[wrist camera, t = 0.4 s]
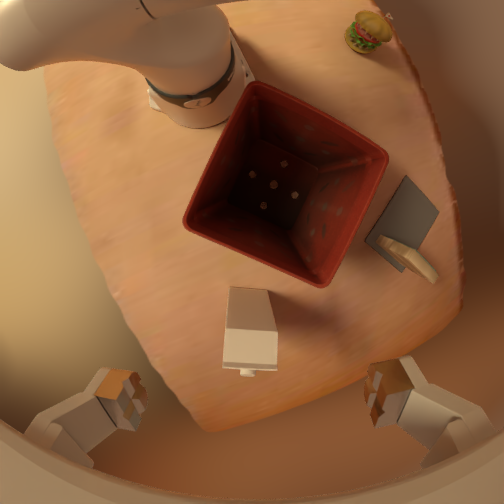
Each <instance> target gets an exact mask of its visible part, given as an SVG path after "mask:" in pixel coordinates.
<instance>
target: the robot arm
mask: <svg viewBox="0 0 504 504" xmlns="http://www.w3.org/2000/svg"><path fill="white" fill-rule="evenodd" d="M238 1H248V0H0V63H1V64H3V65H4V66H6V67H8V68H11V69H13V70H18V71H28V70H32V69H35V68H38V67H42V66H45V65H50V64H54V63H60V62H68V61H95V62H104V63H111V64H117V65H122V66H127V67H130V68H133V69H135V70H137V71H138V72H139V73H141V74H142V75H143V76H144V77H145V79H146V81H147V83H148V85H149V89H148V90H147V92H148V94H149V105H150V107H151V108H152V109H154V110H156V111H160V112H163V113H165V114H167V115H168V116H169V117H170V118H171V119H172V120H173V121H175V122H176V123H178V124H180V125H182V126H185V127H189V128H206V127H211V126H214V125H216V124H219V123H221V122H222V121H224V120H226V119H227V118H228V117H229V116H231V114H232V112H233V110H234V108H235V106H236V104H237V102H238V100H239V99H240V97H241V95H242V93H243V91H244V89H245V87H246V86H247V84H248V83H250V82H252V81H255V78H254V75H253V73H252V71H251V69H250V67H249V65H248V63H247V61H246V59H245V58H244V56H243V54H242V52H241V50H240V48H239V46H238V44H237V42H236V40H235V38H234V37H233V35H232V33H231V31H230V27H229V22H228V19H227V17H226V15H225V14H224V13H223V11H222V10H221V9H220V8H219V7H218V6H216V5H217V4H223V3H230V2H238ZM246 75H248V77H246ZM367 372H368V375H369V378H368V379H367V380H366V381H365V385H364V397H365V401H366V404H367V406H369V407H370V408H372V409H371V413H370V416H371V419H372V422H373V425H374V428H379V427H383V426H387V425H392V424H396V423H397V425H398V426H399V427H401V428H402V429H403V430H404V431H406V432H407V433H408V434H409V435H411V436H412V437H413V438H415V439H416V440H417V441H418V442H420V443H421V444H422V445H423V446H425V447H426V448H427V449H429V450H430V451H429V452H428V453H427V455H426V456H425V457H424V459H423V460H422V461H421V463H420V465H421V467H422V469H421V470H419V471H416V472H413V473H411V474H408V475H405V476H402V477H399V478H396V479H392V480H389V481H386V482H382V483H379V484H375V485H371V486H367V487H363V488H358V489H354V490H349V491H344V492H339V493H333V494H326V495H319V496H311V497H300V498H287V499H229V498H216V497H206V496H198V495H191V494H184V493H178V492H173V491H168V490H163V489H158V488H153V487H149V486H145V485H141V484H137V483H134V482H130V481H127V480H124V479H120V478H117V477H114V476H111V475H108V474H105V473H103V472H100V471H97V470H94V469H92V467H93V465H94V463H93V461H92V460H91V458H89V456H88V455H87V454H86V453H87V452H89V451H90V450H91V449H92V448H94V447H95V446H96V445H97V444H99V443H100V442H101V441H103V440H104V439H105V438H106V437H107V436H109V435H110V434H111V433H113V432H114V431H115V430H116V429H117V428H121V429H126V430H131V431H136V430H137V428H138V425H139V423H140V421H141V417H140V413H142V412H143V411H145V409H146V407H147V404H148V395H147V392H146V389H145V387H143V386H142V385H141V384H140V380H141V378H140V376H139V375H138V373H136V372H133V371H127V370H120V369H114V368H107V367H102V368H100V369H99V370H98V372H97V373H96V375H95V376H94V378H93V379H92V380H91V382H90V383H89V385H88V386H87V388H86V389H85V390H84V392H83V393H78V394H76V395H74V396H72V397H70V398H68V399H66V400H64V401H62V402H61V403H59V404H57V405H55V406H53V407H51V408H49V409H47V410H45V411H43V412H41V413H39V414H37V416H36V417H35V418H34V420H33V421H32V423H31V424H30V426H29V427H28V429H27V430H26V431H25V433H24V434H22V433H20V432H18V431H17V430H15V429H14V428H12V427H11V426H9V425H8V424H6V423H5V422H3V421H2V420H1V419H0V504H504V427H503V428H501V429H500V430H498V431H497V432H496V431H495V429H494V427H493V425H492V424H491V422H490V421H489V419H488V417H487V416H486V414H485V412H484V411H483V409H482V408H481V407H480V406H478V405H476V404H473V403H471V402H469V401H467V400H465V399H463V398H461V397H459V396H457V395H454V394H452V393H451V392H449V391H446V390H444V389H442V388H440V387H438V386H436V385H434V384H428V382H427V381H426V379H425V377H424V376H423V374H422V373H421V371H420V369H419V368H418V366H417V365H416V363H415V361H414V360H413V358H412V357H411V356H410V355H407V356H403V357H399V358H396V359H390V360H386V361H381V362H376V363H371V364H370V365H369V367H368V371H367Z"/></svg>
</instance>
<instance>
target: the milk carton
mask: <svg viewBox="0 0 504 504" xmlns="http://www.w3.org/2000/svg"><path fill="white" fill-rule="evenodd" d="M277 349H278V331H277V327H276V323H275V319H274V315H273V311H272V307H271V303H270V299H269V295H268V291H267V290H261V289H249V288H237V287H229V290H228V302H227V313H226V325H225V338H224V352H223V366H222V368H227V369H240V370H241V371H240V375H241V376H255V375H256V370H260V371H277V370H278V368H277Z"/></svg>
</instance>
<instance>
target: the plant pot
mask: <svg viewBox="0 0 504 504" xmlns="http://www.w3.org/2000/svg"><path fill="white" fill-rule="evenodd" d="M282 160H286V161H287V162H288V166H287V167H286V168H282V167H281V166H280V162H281V161H282ZM388 162H389V156H388V153H387V152H386V151H385V150H384V149H383V148H381V147H380V146H379V145H377V144H376V143H374V142H373V141H371V140H370V139H368V138H367V137H365V136H364V135H362V134H360V133H359V132H357V131H356V130H354V129H352V128H351V127H349V126H347V125H346V124H344V123H342V122H341V121H339V120H337V119H335V118H334V117H332V116H330V115H328V114H327V113H325V112H323V111H321V110H319V109H317V108H315V107H314V106H312V105H310V104H308V103H306V102H304V101H302V100H300V99H298V98H296V97H294V96H292V95H290V94H288V93H286V92H284V91H281V90H279V89H277V88H275V87H273V86H270V85H268V84H266V83H263V82H261V81H252V82H250V83H248V84H247V86H246V87H245V89H244V91H243V93H242V95H241V97H240V99H239V100H238V102H237V104H236V106H235V108H234V110H233V112H232V114H231V116H230V118H229V120H228V122H227V124H226V125H225V127H224V129H223V131H222V133H221V135H220V138H219V140H218V142H217V144H216V146H215V148H214V150H213V152H212V154H211V156H210V158H209V161H208V163H207V165H206V167H205V169H204V171H203V173H202V176H201V178H200V180H199V182H198V184H197V186H196V189H195V191H194V193H193V195H192V197H191V200H190V202H189V204H188V206H187V209H186V211H185V214H184V216H183V219H182V223H183V226H184V228H185V229H186V230H188V231H190V232H192V233H194V234H196V235H198V236H201V237H203V238H206V239H208V240H210V241H213V242H215V243H217V244H219V245H222V246H224V247H226V248H229V249H231V250H233V251H236V252H238V253H240V254H243V255H245V256H247V257H249V258H252V259H254V260H256V261H259V262H261V263H263V264H266V265H268V266H270V267H272V268H274V269H277V270H279V271H281V272H283V273H286V274H288V275H290V276H292V277H294V278H297V279H299V280H301V281H303V282H306V283H308V284H310V285H312V286H314V287H317V288H325V287H327V286H328V285H329V284H330V283H331V281H332V279H333V277H334V275H335V273H336V271H337V270H338V268H339V266H340V264H341V262H342V260H343V258H344V256H345V254H346V252H347V250H348V248H349V246H350V244H351V242H352V240H353V238H354V236H355V234H356V232H357V230H358V228H359V226H360V224H361V222H362V220H363V218H364V216H365V213H366V211H367V209H368V207H369V205H370V203H371V201H372V198H373V196H374V194H375V192H376V190H377V188H378V185H379V183H380V181H381V179H382V176H383V174H384V172H385V170H386V167H387V165H388ZM252 170H253V171H255V172H256V174H257V176H256V178H254V179H252V178H250V177H249V172H250V171H252ZM272 180H276V181H277V182H278V184H279V186H278V188H277V189H272V188H271V187H270V182H271V181H272ZM293 191H297V192H298V194H299V196H298V198H297V199H293V198H292V197H291V193H292V192H293ZM261 202H266V203H267V205H268V207H267V209H261V207H260V204H261Z"/></svg>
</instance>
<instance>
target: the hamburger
mask: <svg viewBox="0 0 504 504" xmlns="http://www.w3.org/2000/svg"><path fill="white" fill-rule="evenodd" d="M385 16H386V17H388V18H390V19H393V18H392V17H391V15H390V13H388V14H386V15H385ZM385 16H384V17H385ZM384 17H383V18H384ZM383 18H382V17H381V16H379V15H378V14H376V13H373V12H370V11H360V12H358V13H357V14H356V16H355V19H356V22H353V23H352V25H351V26H350V27H348V29H347V30H346V33H345V39H346V42H347V44H348V45H349V46H350V48H351V49H353V50H354V51H356V52H359V53H363V54H365V53H370V52H373V51H375V50H376V48H377V47H378V46H380V45H381V44H382V42H389V41H390V40H391V38H392V30H391V27H390V26H389V24H388V23H387V22H386V21H385V20H384V19H383Z"/></svg>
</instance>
